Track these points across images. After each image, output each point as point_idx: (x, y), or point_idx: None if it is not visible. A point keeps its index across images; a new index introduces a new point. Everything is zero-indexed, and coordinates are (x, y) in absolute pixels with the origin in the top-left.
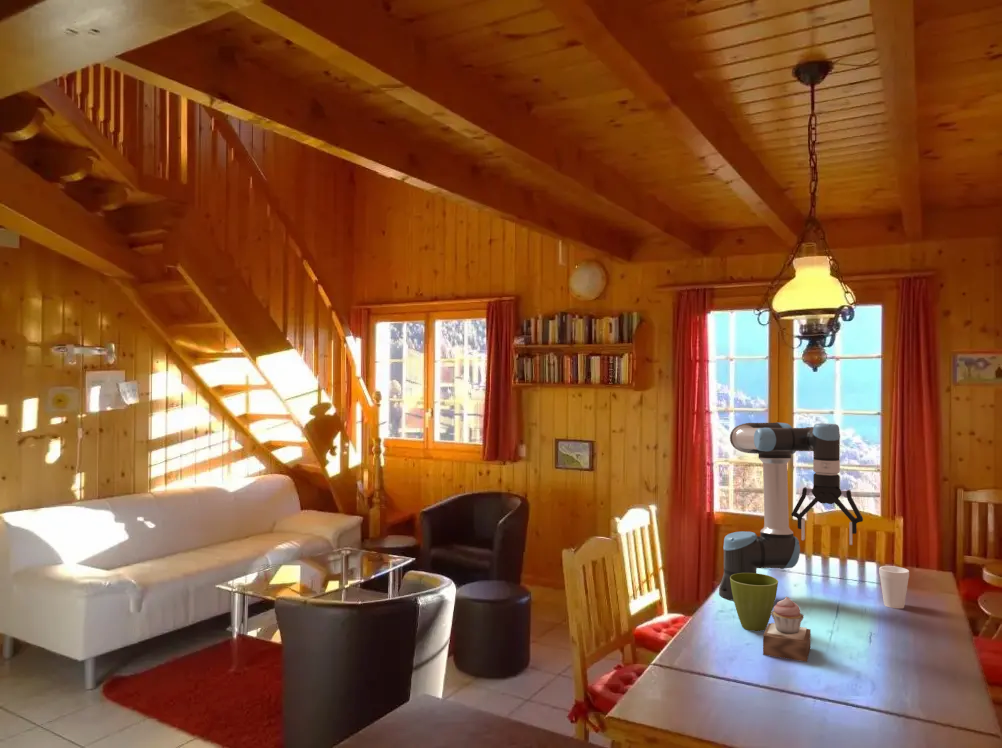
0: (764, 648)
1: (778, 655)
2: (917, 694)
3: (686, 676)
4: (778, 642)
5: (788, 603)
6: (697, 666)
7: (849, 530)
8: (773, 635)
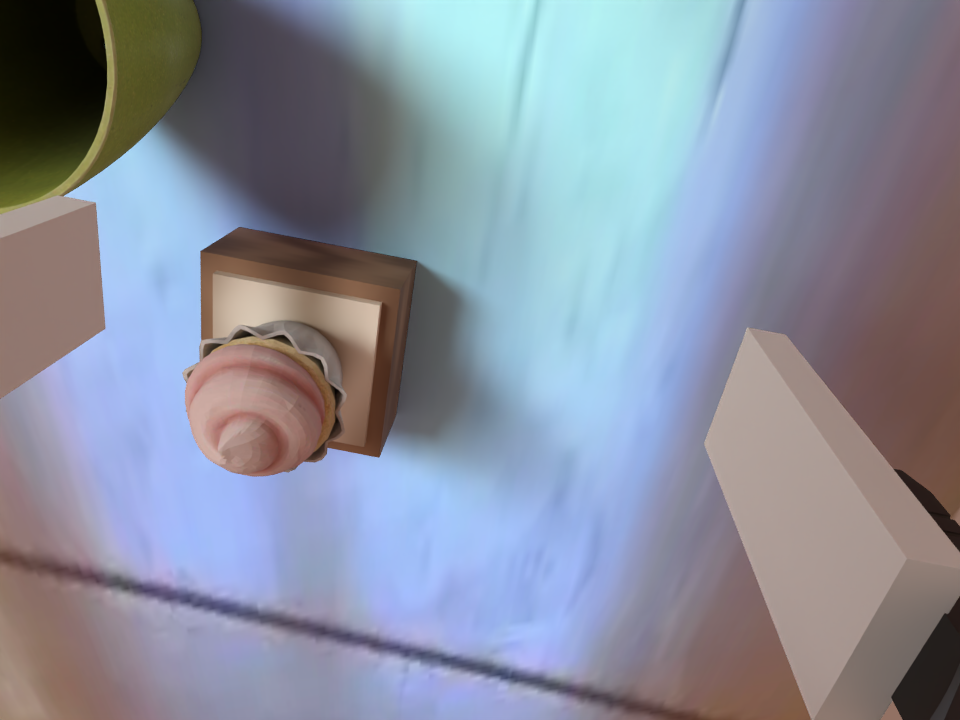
0: None
1: None
2: (715, 585)
3: (55, 599)
4: None
5: (246, 473)
6: (58, 529)
7: (766, 595)
8: None
